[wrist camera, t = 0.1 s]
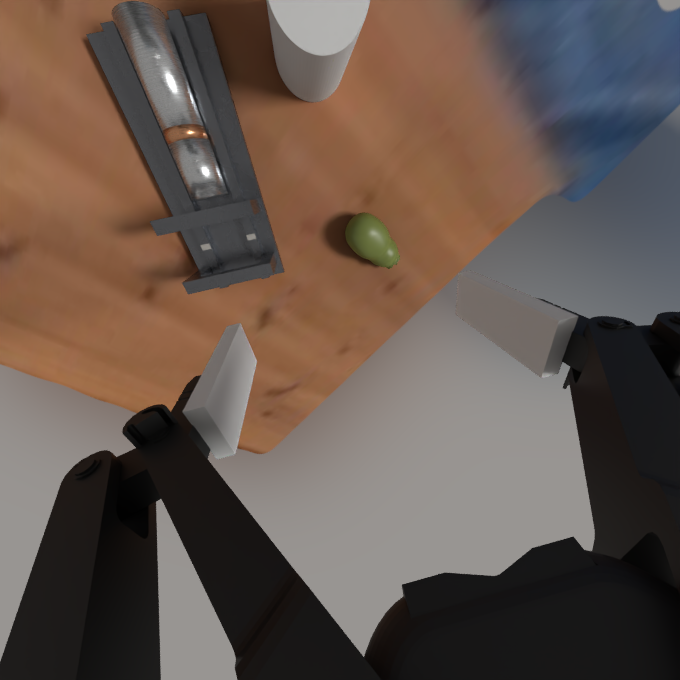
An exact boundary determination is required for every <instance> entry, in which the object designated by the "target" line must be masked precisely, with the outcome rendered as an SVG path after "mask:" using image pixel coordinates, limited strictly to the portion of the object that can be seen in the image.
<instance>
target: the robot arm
mask: <svg viewBox="0 0 680 680" xmlns="http://www.w3.org/2000/svg"><path fill="white" fill-rule="evenodd" d="M456 315H457V316H458V317H460V318H461V319H462V320H464V321H465V322H467V323H468V324H469V325H471V326H472V327H473V328H475V329H476V330H477V331H479V332H480V333H481V334H483V335H484V336H485V337H487V338H488V339H489V340H491V341H492V342H494V343H495V344H496V345H498V346H499V347H500V348H502V349H503V350H504V351H506V352H507V353H508V354H510V355H511V356H512V357H514V358H515V359H516V360H518V361H519V362H521V363H522V364H523V365H525V366H526V367H527V368H529V369H530V370H531V371H533V372H534V373H535V374H537V375H538V376H539V377H541V378H543V377H547V376H551V375H555V374H558V373H559V370H560V367H561V364H562V362H564V363H566V364H567V365H569V366H570V370H569V372H568V375H567V377H566V380H565V383H564V386H563V388H564V389H566V388H567V386H568V385H570V389H571V395H572V401H573V407H574V412H575V418H576V424H577V430H578V435H579V441H580V447H581V453H582V459H583V464H584V470H585V476H586V481H587V487H588V493H589V499H590V505H591V511H592V517H593V522H594V529H595V540H594V545H593V550H592V551H586V550H584V549H583V548H582V547H581V545H580V544H579V543H578V542H577V540H576V539H575V538H574V537H570V538H567V539H564V540H560V541H556V542H553V543H549V544H545V545H542V546H538V547H535V548H532V549H531V550H530V551H528V552H527V553H526V554H525V555H523V556H522V557H521V558H520V559H518V560H517V561H516V562H515V563H513V564H512V565H511V566H510V567H508V568H507V569H506V570H505V571H504V572H502V573H501V574H500V575H497V576H484V575H470V574H456V573H442V574H438V575H435V576H432V577H428V578H424V579H421V580H417V581H414V582H410V583H406V584H403V585H402V589H403V595H404V596H403V597H402V598H401V599H400V600H398V601H397V602H396V603H395V604H394V605H393V606H392V607H391V608H390V609H389V610H388V611H387V612H386V614H385V615H384V617H383V618H382V619H381V621H380V622H379V624H378V626H377V627H376V629H375V631H374V633H373V635H372V637H371V640H370V642H369V645H368V647H367V650H366V653H365V656H364V657H363V656H362V654H361V653H360V652H359V651H358V649H357V648H356V647H355V646H354V644H353V643H352V642H351V640H350V639H349V638H348V637H347V635H346V634H345V633H344V632H343V630H342V629H341V628H340V627H339V625H338V624H337V623H336V621H335V620H334V619H333V618H332V617H331V615H330V614H329V613H328V611H327V610H326V609H325V607H324V606H323V605H322V604H321V602H320V601H319V600H318V599H317V597H316V596H315V595H314V593H313V592H312V591H311V590H310V588H309V587H308V586H307V585H306V584H305V582H304V581H303V580H302V578H301V577H300V576H299V575H298V574H297V573H296V571H295V570H294V569H293V568H292V566H291V565H290V564H289V562H288V561H287V560H286V559H285V557H284V556H283V555H282V554H281V552H280V551H279V550H278V549H277V547H276V546H275V545H274V543H273V542H272V541H271V540H270V538H269V537H268V536H267V534H266V533H265V532H264V531H263V529H262V528H261V527H260V526H259V524H258V523H257V522H256V521H255V519H254V518H253V517H252V515H250V513H249V512H248V510H247V509H246V508H245V507H244V505H243V504H242V503H241V501H240V500H239V499H238V498H237V496H236V495H235V494H234V492H233V491H232V490H231V489H230V487H229V486H228V485H227V484H226V482H225V481H224V480H223V478H222V477H221V476H220V475H219V473H218V472H217V471H216V470H215V468H214V467H213V466H212V465H211V463H210V462H209V461H208V456H209V452H210V451H211V452H212V454H213V455H214V456H215V458H216V459H220V458H224V457H228V456H232V455H235V454H236V450H237V446H238V442H239V437H240V433H241V429H242V424H243V420H244V416H245V411H246V407H247V403H248V398H249V394H250V390H251V385H252V381H253V377H254V372H255V368H256V364H257V360H256V358H255V356H254V353H253V351H252V349H251V346H250V344H249V342H248V339H247V337H246V335H245V333H244V330H243V328H242V326H241V323H239V324H234V325H230V326H227V327H226V329H225V331H224V333H223V335H222V337H221V339H220V341H219V343H218V345H217V346H216V348H215V350H214V352H213V354H212V356H211V358H210V360H209V362H208V364H207V366H206V368H205V369H204V371H203V373H202V375H200V376H195V377H194V378H193V379H192V380H191V381H190V382H189V383H188V384H187V385H186V387H185V388H184V390H183V392H182V394H181V395H180V397H179V399H178V401H177V402H176V404H175V406H174V408H173V409H172V411H171V412H170V411H169V409H168V408H167V407H166V406H165V405H163V404H161V405H154V406H150V407H148V408H146V409H144V410H142V411H140V412H139V413H137V414H136V415H134V416H133V417H132V418H131V419H130V420H129V421H128V422H127V423H126V424H125V426H124V427H123V434H124V435H125V436H126V437H127V439H128V440H129V441H130V442H131V443H132V444H133V445H134V446H135V447H136V449H133V450H131V451H129V452H127V453H125V454H123V455H120V456H118V457H116V456H115V455H113V453H111V452H110V451H107V450H106V451H99V452H97V453H95V454H92V455H90V456H89V457H87V458H85V459H83V460H81V461H80V462H79V463H78V464H76V465H75V466H74V467H73V468H72V469H71V470H70V471H69V472H68V473H67V474H66V476H65V477H64V479H63V481H62V483H61V485H60V488H59V491H58V494H57V497H56V500H55V503H54V506H53V509H52V512H51V515H50V518H49V521H48V524H47V526H46V529H45V532H44V535H43V538H42V541H41V544H40V547H39V550H38V553H37V556H36V559H35V562H34V565H33V567H32V571H31V573H30V577H29V579H28V582H27V585H26V588H25V591H24V594H23V597H22V600H21V603H20V606H19V609H18V612H17V614H16V617H15V621H14V623H13V626H12V629H11V632H10V635H9V638H8V641H7V644H6V647H5V650H4V653H3V656H2V659H1V661H0V680H161V674H160V637H159V599H158V561H157V523H156V501H158V500H160V499H162V501H163V503H164V505H165V507H166V509H167V511H168V513H169V515H170V518H171V520H172V522H173V524H174V526H175V528H176V530H177V532H178V534H179V536H180V538H181V540H182V543H183V545H184V547H185V549H186V551H187V553H188V555H189V557H190V559H191V561H192V564H193V565H194V568H195V570H196V572H197V574H198V576H199V578H200V580H201V582H202V584H203V586H204V589H205V591H206V593H207V595H208V597H209V599H210V601H211V603H212V605H213V607H214V609H215V612H216V614H217V616H218V618H219V620H220V622H221V624H222V626H223V628H224V631H225V633H226V634H227V637H228V639H229V641H230V643H231V645H232V647H233V650H234V652H235V656H236V664H235V671H236V675H237V679H238V680H680V312H665V313H660V314H658V315H657V317H656V319H655V320H654V322H653V324H652V325H644V326H636V325H635V324H633V323H632V322H630V321H627V320H624V319H621V318H616V317H609V316H598V317H593V318H591V319H588V318H586V317H584V316H581V315H579V314H577V313H574V312H572V311H569V310H567V309H565V308H561V307H560V306H557V305H553V304H552V303H550V302H548V301H545V300H543V299H538V298H534V297H532V296H530V295H528V294H525V293H523V292H520V291H518V290H516V289H513V288H511V287H509V286H506V285H504V284H502V283H499V282H497V281H495V280H492V279H490V278H488V277H485V276H483V275H481V274H478V273H476V272H473V271H471V270H470V271H466V272H462V273H459V274H458V288H457V303H456Z"/></svg>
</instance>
